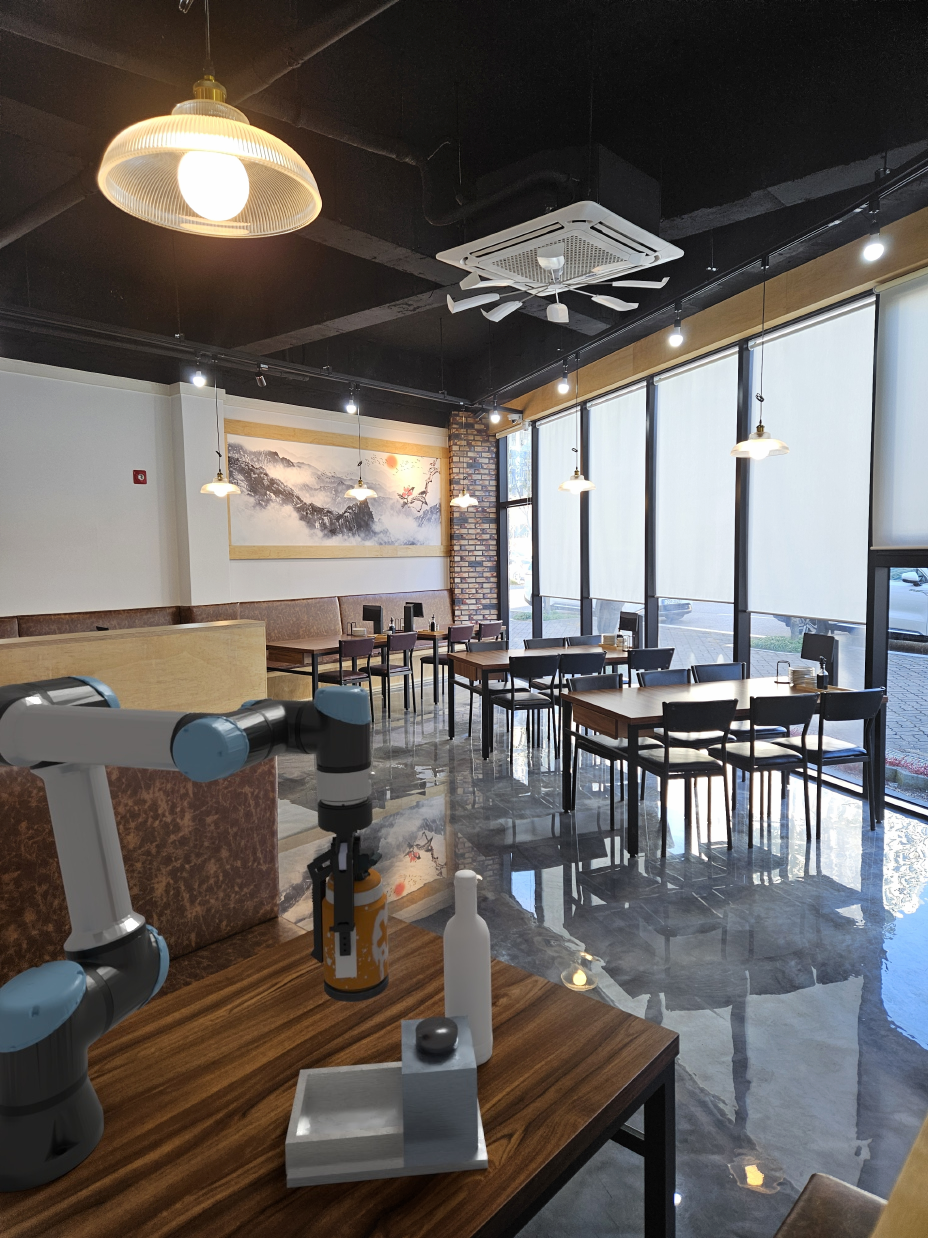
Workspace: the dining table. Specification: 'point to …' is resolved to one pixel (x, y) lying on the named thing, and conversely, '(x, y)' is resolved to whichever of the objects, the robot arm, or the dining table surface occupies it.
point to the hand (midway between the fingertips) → (348, 957)
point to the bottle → (469, 966)
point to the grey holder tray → (390, 1112)
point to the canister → (368, 928)
